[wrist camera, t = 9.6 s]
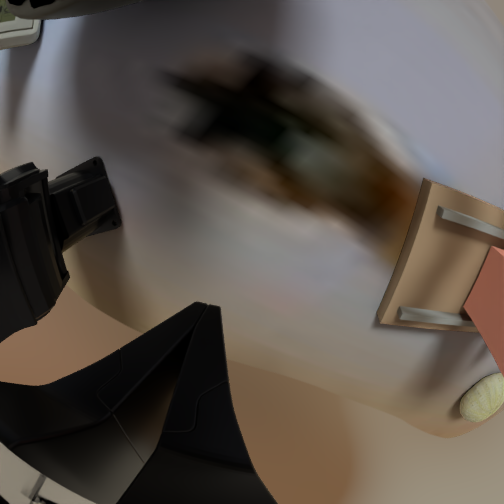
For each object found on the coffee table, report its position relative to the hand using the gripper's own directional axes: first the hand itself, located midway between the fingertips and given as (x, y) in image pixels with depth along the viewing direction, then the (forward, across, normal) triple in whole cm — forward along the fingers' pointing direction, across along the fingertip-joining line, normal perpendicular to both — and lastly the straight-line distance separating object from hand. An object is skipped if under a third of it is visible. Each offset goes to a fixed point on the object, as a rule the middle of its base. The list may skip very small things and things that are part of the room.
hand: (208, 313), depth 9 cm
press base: (+12, -20, +1) cm, 24 cm away
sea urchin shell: (+12, -37, +20) cm, 44 cm away
